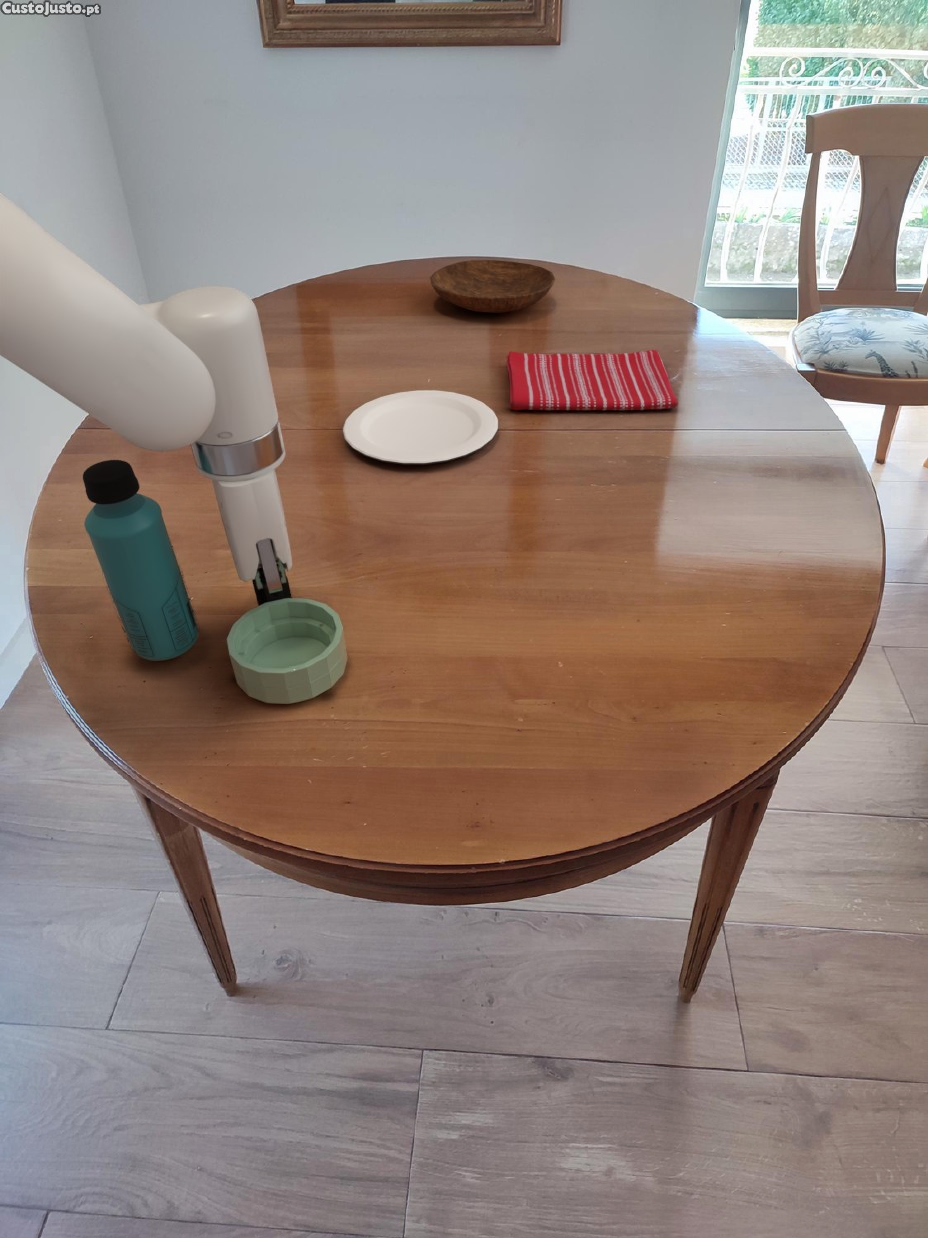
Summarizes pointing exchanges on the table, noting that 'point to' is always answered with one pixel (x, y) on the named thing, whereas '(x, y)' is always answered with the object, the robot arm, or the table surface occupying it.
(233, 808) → the table surface
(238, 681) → the celadon bowl
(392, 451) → the plate
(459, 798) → the table surface
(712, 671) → the table surface
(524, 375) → the dish towel
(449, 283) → the bowl
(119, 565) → the beverage bottle
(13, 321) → the robot arm
